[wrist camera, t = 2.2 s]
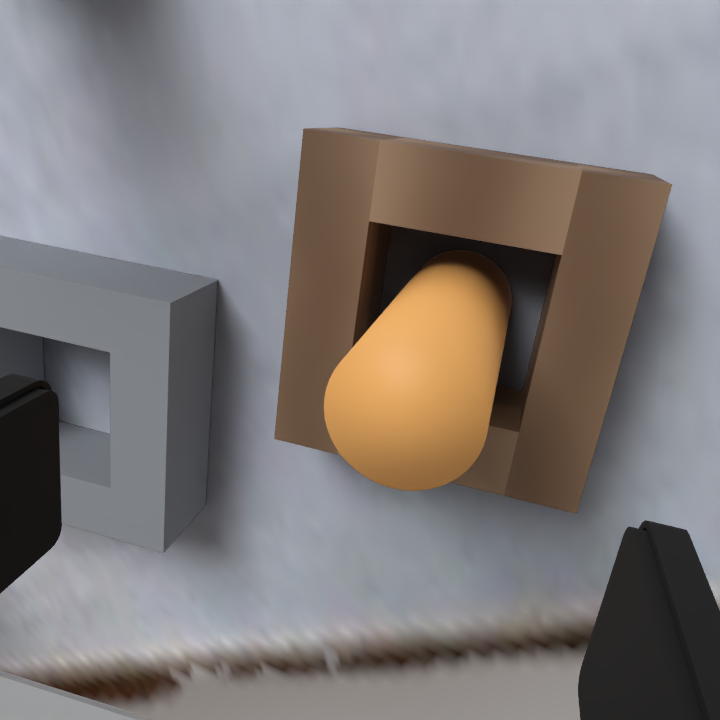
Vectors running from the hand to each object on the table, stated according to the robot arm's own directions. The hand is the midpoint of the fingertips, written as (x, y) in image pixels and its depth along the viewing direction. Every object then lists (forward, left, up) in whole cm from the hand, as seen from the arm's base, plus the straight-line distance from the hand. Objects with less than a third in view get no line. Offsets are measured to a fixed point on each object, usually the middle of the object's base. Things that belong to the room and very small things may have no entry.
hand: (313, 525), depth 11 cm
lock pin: (-1, 0, -14) cm, 14 cm away
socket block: (+13, +6, -14) cm, 20 cm away
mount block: (-1, 0, -14) cm, 14 cm away
